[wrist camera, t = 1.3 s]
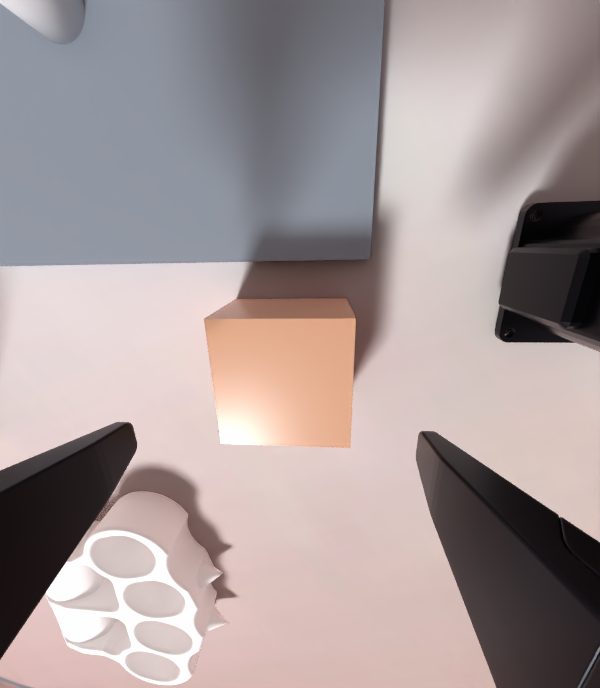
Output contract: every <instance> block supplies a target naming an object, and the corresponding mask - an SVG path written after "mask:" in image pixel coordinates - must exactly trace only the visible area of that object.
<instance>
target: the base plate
mask: <svg viewBox="0 0 600 688" xmlns="http://www.w3.org/2000/svg"><path fill="white" fill-rule="evenodd" d="M384 7H385V0H0V266H35V265H89V264H143V263H196V262H250V261H303V260H357V259H370V255H371V237H372V219H373V202H374V184H375V166H376V148H377V131H378V113H379V95H380V78H381V60H382V42H383V24H384Z"/></svg>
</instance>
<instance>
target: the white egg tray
mask: <svg viewBox="0 0 600 688" xmlns="http://www.w3.org/2000/svg"><path fill="white" fill-rule="evenodd" d="M188 516H189V515H188V513H187V512H186V511H185V510H184V509H183V508H182V507H181V506H180V505H179V504H178V503H176V502H175V501H173V500H172V499H170V498H168V497H166V496H164V495H161V494H158V493H154V492H148V491H137V492H131V493H128V494H126V495H124V496H122V497H121V498H120V499H118V500H117V502H116V503H115V504H114V505H113V507H112V508H111V509H110V510H109V512H108V513H107V514H106V515H105V517H104V518H103V519H102V520H101V521H94V522H93V523H92V525H91V526H90V528H89V529H88V531H87V532H86V534H85V535H84V537H83V538H82V540H81V541H80V543H79V544H78V546H77V547H76V549H75V550H74V551H73V553H72V554H71V556H70V557H69V559H68V560H67V562H66V563H65V565H64V566H63V568H62V569H61V571H60V572H59V574H58V575H57V577H56V578H55V580H54V581H53V583H52V584H51V585H50V587H49V588H48V590H47V591H46V593H45V595H46V597H47V600H48V602H49V604H50V606H51V607H52V608H53V611H54V613H55V615H56V618H57V620H58V622H59V625H60V627H61V628H60V630H61V632H62V635H63V637H64V639H65V641H66V643H67V646H68V647H70V648H72V649H75V650H77V651H80V652H82V653H85V654H94V655H103V656H107V657H109V658H111V659H113V660H115V661H117V662H119V663H120V664H121V665H122V666H123V667H124V668H125V669H126V670H127V671H128V672H129V673H131V674H132V675H134V676H135V677H137V678H139V679H142V680H144V681H147V682H150V683H154V684H159V685H176V684H180V683H183V682H185V681H187V680H188V679H189V678H190V677H191V676H192V675H193V673H194V670H195V667H196V663H197V660H198V657H199V653H200V650H201V647H202V643H203V640H204V637H205V633H206V631H209V630H212V629H214V628H217V627H219V626H222V625H225V624H227V623H229V622H228V621H227V620H226V619H225V617H224V616H223V615H222V614H221V613H220V611H219V610H218V609H217V608H216V607H215V605H214V603H215V599H216V596H217V592H216V590H215V589H214V588H213V586H212V584H211V582H212V581H213V580H215V579H216V578H217V577H219V576H220V575H221V574H223V572H221V571H220V570H218V569H217V568H215V567H214V565H213V563H212V561H211V559H210V557H209V555H208V553H207V551H206V549H205V548H204V547H202V546H201V545H200V544H199V543H197V542H196V541H195V539H194V538H193V537H192V535H191V534H190V531H189V529H188V523H187V521H188Z"/></svg>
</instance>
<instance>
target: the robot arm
mask: <svg viewBox="0 0 600 688" xmlns="http://www.w3.org/2000/svg"><path fill="white" fill-rule="evenodd" d="M533 211H535V212H536V218H535V219H534V220H533V221H532V220H531V218H530V215H531V213H532V212H533ZM499 304H500V309H499V314H498V319H497V324H496V328H495V335H496V337H497V338H498V339H500V340H502V341H504V342H566V343H578V344H581V345H583V346H586V347H588V348H591V349H594V350H596V351H599V352H600V201H581V202H550V203H536V204H531V205H528V206H526V207H525V208H524V209H523V210H522V211H521V212H520V215H519V218H518V223H517V228H516V233H515V238H514V242H513V247H512V250H511V251H510V252H509V254H508V259H507V264H506V269H505V273H504V278H503V283H502V288H501V293H500V298H499ZM509 328H510V332H509V334H507V335H504V333H505V331H506V330H507V329H509ZM136 449H137V441H136V437H135V433H134V429H133V425H132V424H131V423H129V422H116V423H114V424H111V425H109V426H106V427H104V428H102V429H99V430H97V431H94V432H92V433H90V434H87V435H85V436H82V437H80V438H78V439H75V440H73V441H70V442H68V443H66V444H63V445H61V446H58V447H56V448H53V449H51V450H49V451H46V452H44V453H41V454H39V455H37V456H34V457H32V458H29V459H27V460H25V461H22V462H20V463H17V464H15V465H13V466H10V467H8V468H5V469H3V470H1V471H0V659H1V658H2V656H3V655H4V653H5V652H6V650H7V649H8V647H9V646H10V645H11V643H12V642H13V640H14V639H15V637H16V636H17V634H18V633H19V631H20V630H21V628H22V627H23V625H24V624H25V622H26V621H27V619H28V618H29V616H30V615H31V614H32V612H33V611H34V609H35V608H36V606H37V605H38V603H39V602H40V600H41V599H42V597H43V596H44V594H45V593H46V591H47V590H48V588H49V587H50V585H51V584H52V583H53V581H54V580H55V578H56V577H57V575H58V574H59V572H60V571H61V569H62V568H63V566H64V565H65V563H66V562H67V560H68V559H69V557H70V556H71V554H72V553H73V551H74V550H75V549H76V547H77V546H78V544H79V543H80V541H81V540H82V538H83V537H84V535H85V534H86V532H87V531H88V529H89V528H90V526H91V525H92V523H93V522H94V520H95V519H96V518H97V516H98V515H99V513H100V512H101V510H102V509H103V507H104V506H105V504H106V503H107V501H108V500H109V498H110V496H111V495H112V493H113V491H114V490H115V488H116V486H117V484H118V483H119V481H120V479H121V477H122V475H123V474H124V472H125V470H126V468H127V466H128V465H129V463H130V461H131V459H132V457H133V456H134V454H135V452H136ZM416 461H417V465H418V469H419V473H420V477H421V481H422V484H423V488H424V492H425V496H426V500H427V503H428V507H429V510H430V514H431V517H432V519H433V522H434V525H435V528H436V530H437V533H438V535H439V538H440V541H441V543H442V546H443V548H444V551H445V554H446V556H447V559H448V562H449V564H450V567H451V569H452V572H453V575H454V577H455V580H456V583H457V585H458V588H459V590H460V593H461V596H462V598H463V601H464V603H465V606H466V609H467V611H468V614H469V617H470V619H471V622H472V624H473V627H474V630H475V632H476V635H477V638H478V640H479V643H480V645H481V648H482V651H483V653H484V656H485V659H486V661H487V664H488V666H489V669H490V672H491V674H492V677H493V679H494V682H495V685H496V687H497V688H600V542H598V541H597V540H595V539H594V538H592V537H591V536H589V535H588V534H586V533H585V532H583V531H582V530H580V529H579V528H577V527H576V526H574V525H573V524H571V523H570V522H568V521H567V520H565V519H564V518H562V517H560V518H559V516H558V514H556V513H555V512H553V511H552V510H550V509H549V508H547V507H546V506H544V505H543V504H541V503H540V502H539V501H537V500H536V499H534V498H533V497H531V496H530V495H528V494H527V493H525V492H524V491H522V490H521V489H519V488H518V487H516V486H515V485H513V484H512V483H510V482H509V481H507V480H506V479H504V478H503V477H501V476H500V475H498V474H497V473H495V472H494V471H493V470H491V469H490V468H488V467H487V466H485V465H484V464H482V463H481V462H479V461H478V460H476V459H475V458H473V457H472V456H470V455H469V454H467V453H466V452H464V451H463V450H461V449H460V448H458V447H457V446H455V445H454V444H452V443H451V442H449V441H448V440H447V439H445V438H444V437H442V436H441V435H439V434H438V433H436V432H434V431H421V432H420V433H419V436H418V443H417V450H416Z"/></svg>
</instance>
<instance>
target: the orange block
mask: <svg viewBox="0 0 600 688" xmlns="http://www.w3.org/2000/svg"><path fill="white" fill-rule="evenodd" d="M204 323H205V330H206V337H207V345H208V352H209V360H210V367H211V375H212V382H213V390H214V397H215V404H216V412H217V419H218V427H219V434H220V442H221V444H244V445H276V446H308V447H339V448H350V443H351V420H352V397H353V374H354V351H355V329H356V318H355V315H354V313H353V311H352V309H351V307H350V304H349V302H348V300H347V298H296V299H235V300H234V301H232V302H230V303H229V304H227V305H226V306H224V307H222V308H221V309H219V310H218V311H216V312H214V313H213V314H211V315H210V316H208V317H206V318H205V319H204Z"/></svg>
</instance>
